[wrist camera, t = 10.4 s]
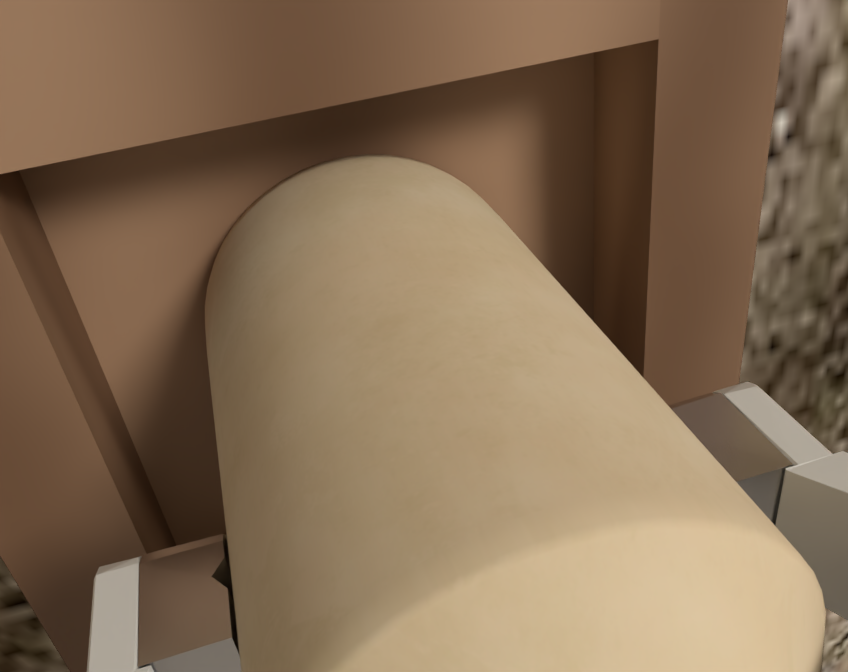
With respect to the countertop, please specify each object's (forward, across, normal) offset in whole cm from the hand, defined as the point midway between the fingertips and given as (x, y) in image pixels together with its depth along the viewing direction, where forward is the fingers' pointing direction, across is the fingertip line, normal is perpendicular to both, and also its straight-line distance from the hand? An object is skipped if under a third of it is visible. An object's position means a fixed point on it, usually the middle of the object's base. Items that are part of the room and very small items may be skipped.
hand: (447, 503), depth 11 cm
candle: (+5, 0, 0) cm, 5 cm away
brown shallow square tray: (+6, 0, 0) cm, 6 cm away
